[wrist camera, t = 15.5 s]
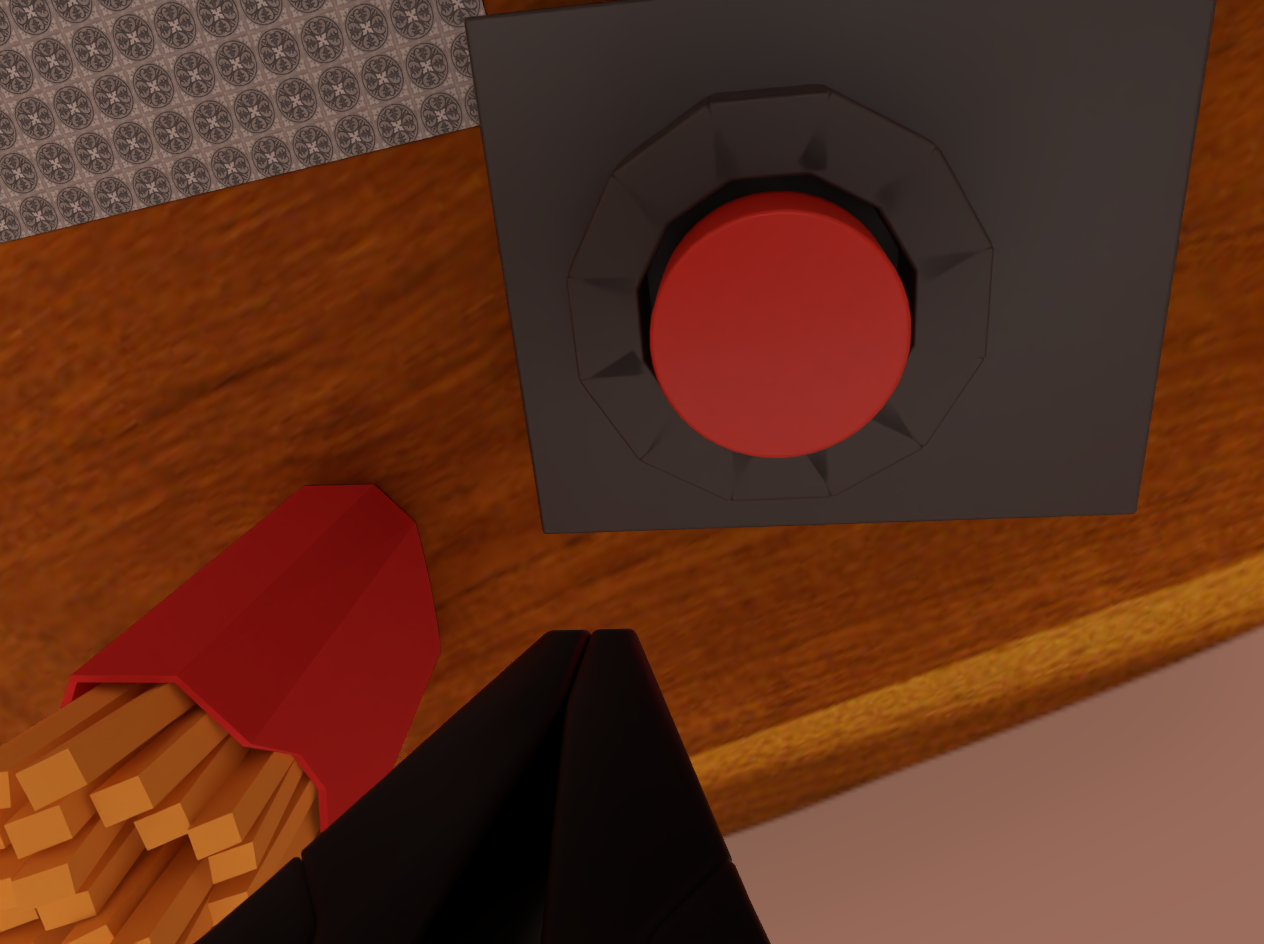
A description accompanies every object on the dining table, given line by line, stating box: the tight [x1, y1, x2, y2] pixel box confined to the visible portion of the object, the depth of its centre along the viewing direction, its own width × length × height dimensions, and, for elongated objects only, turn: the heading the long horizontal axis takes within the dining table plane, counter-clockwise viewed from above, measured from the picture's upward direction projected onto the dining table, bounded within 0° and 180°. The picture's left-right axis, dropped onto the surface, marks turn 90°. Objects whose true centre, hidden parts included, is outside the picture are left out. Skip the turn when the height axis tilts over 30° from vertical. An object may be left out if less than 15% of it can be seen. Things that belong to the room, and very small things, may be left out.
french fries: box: [0, 484, 441, 944], centre depth 19 cm, size 8×4×12 cm, turn 4°
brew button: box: [650, 191, 911, 458], centre depth 15 cm, size 4×4×2 cm
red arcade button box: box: [464, 0, 1216, 534], centre depth 17 cm, size 12×10×5 cm
